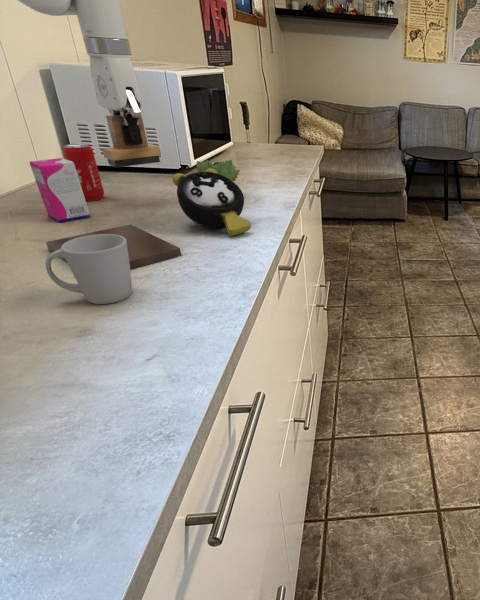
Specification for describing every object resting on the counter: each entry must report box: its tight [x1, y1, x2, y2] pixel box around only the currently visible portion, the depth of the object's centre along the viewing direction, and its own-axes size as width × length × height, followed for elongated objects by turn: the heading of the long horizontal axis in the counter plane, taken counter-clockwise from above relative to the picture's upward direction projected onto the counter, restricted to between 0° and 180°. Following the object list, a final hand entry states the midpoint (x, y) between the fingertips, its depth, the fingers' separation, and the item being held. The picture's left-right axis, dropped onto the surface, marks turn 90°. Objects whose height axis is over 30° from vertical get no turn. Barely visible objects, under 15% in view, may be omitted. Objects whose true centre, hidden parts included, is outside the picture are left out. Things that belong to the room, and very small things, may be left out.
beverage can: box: [63, 143, 105, 202], centre depth 108 cm, size 5×5×12 cm
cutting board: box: [45, 223, 182, 270], centre depth 84 cm, size 14×18×2 cm
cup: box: [45, 234, 133, 305], centre depth 68 cm, size 8×10×8 cm
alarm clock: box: [172, 168, 252, 236], centre depth 97 cm, size 12×15×15 cm
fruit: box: [195, 159, 241, 187], centre depth 115 cm, size 10×11×15 cm
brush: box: [101, 114, 162, 168], centre depth 102 cm, size 10×4×10 cm, turn 145°
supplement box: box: [29, 157, 91, 223], centre depth 96 cm, size 6×6×12 cm
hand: (130, 142), depth 103 cm, fingers closed on brush, 2 cm apart
